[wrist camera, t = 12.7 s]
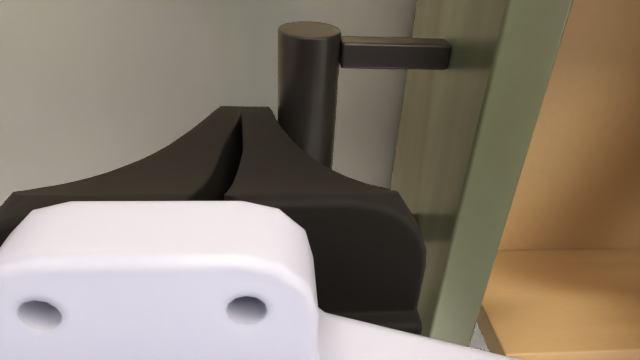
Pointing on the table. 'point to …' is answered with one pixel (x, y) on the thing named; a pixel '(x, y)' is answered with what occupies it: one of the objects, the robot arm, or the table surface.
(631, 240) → the drawer
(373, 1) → the table surface
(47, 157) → the table surface
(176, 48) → the table surface
